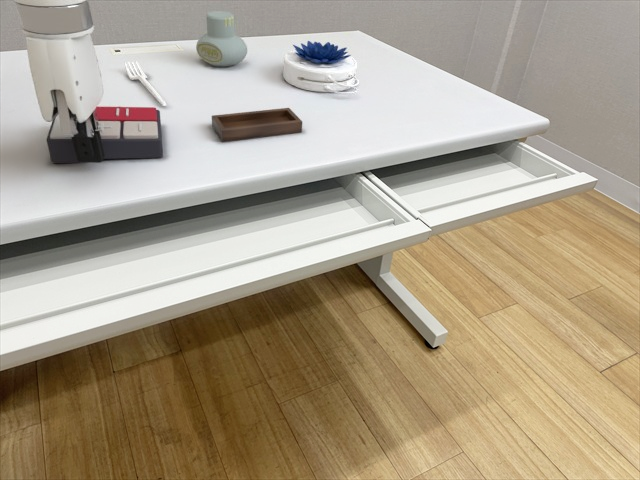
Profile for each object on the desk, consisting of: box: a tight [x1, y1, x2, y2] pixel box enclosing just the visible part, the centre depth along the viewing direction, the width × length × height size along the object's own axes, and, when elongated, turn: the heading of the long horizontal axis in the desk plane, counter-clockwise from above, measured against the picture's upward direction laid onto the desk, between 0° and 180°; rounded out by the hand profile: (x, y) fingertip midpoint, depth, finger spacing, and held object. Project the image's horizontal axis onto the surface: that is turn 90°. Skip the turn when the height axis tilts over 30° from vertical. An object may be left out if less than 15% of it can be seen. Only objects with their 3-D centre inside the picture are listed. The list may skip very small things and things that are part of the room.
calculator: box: [46, 106, 164, 164], centre depth 71 cm, size 11×4×15 cm
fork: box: [124, 60, 168, 107], centre depth 90 cm, size 3×20×2 cm, turn 33°
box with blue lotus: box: [282, 40, 360, 95], centre depth 99 cm, size 7×16×20 cm
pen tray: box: [211, 107, 303, 143], centre depth 80 cm, size 14×6×2 cm, turn 115°
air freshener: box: [195, 10, 248, 68], centre depth 102 cm, size 11×8×10 cm
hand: (91, 159), depth 65 cm, fingers closed
